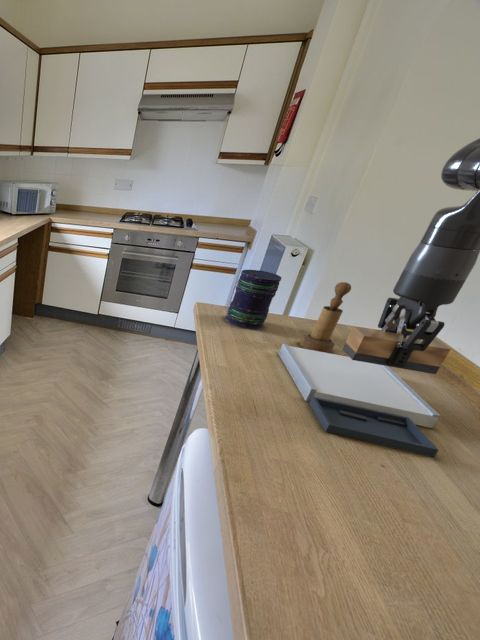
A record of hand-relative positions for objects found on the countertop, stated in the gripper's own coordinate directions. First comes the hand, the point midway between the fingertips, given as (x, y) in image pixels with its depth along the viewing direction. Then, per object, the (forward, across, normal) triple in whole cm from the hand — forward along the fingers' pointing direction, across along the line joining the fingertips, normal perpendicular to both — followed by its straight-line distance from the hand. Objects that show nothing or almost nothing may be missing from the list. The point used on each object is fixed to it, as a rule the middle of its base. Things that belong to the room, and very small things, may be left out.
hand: (387, 359), depth 77 cm
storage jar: (+12, +43, +14) cm, 47 cm away
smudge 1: (+11, -4, +3) cm, 12 cm away
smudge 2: (+11, -3, -4) cm, 12 cm away
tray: (+11, -7, +1) cm, 14 cm away
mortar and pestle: (+12, +32, -1) cm, 34 cm away
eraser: (0, 0, 0) cm, 0 cm away
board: (+12, +11, -1) cm, 16 cm away
